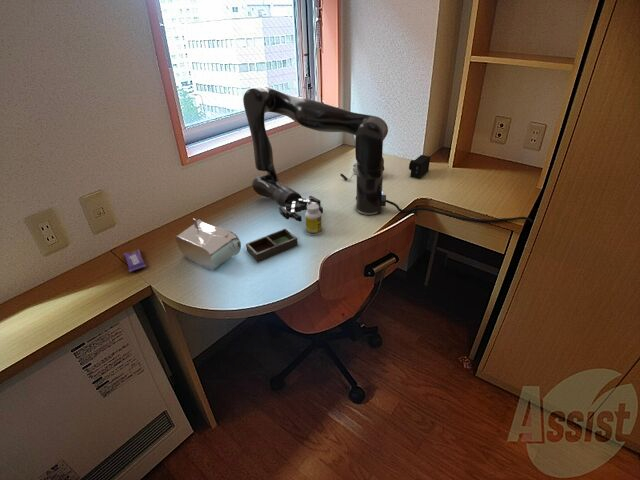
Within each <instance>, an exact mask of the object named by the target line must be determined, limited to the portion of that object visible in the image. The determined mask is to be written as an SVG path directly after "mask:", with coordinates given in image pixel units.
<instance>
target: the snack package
mask: <svg viewBox="0 0 640 480" xmlns="http://www.w3.org/2000/svg"><path fill="white" fill-rule="evenodd" d="M123 256H124V258H125V260H126V263H127V266H128V273H131V272H134V271H137V270H140V269H143V268H145V267H147V264H146V263H145V261H144V258H143V256H142V254H141V248H136V249H133V250H131V251H127V252H124V253H123Z"/></svg>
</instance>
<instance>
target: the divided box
mask: <svg viewBox="0 0 640 480" xmlns="http://www.w3.org/2000/svg"><path fill="white" fill-rule="evenodd" d="M298 246H299V244H298V238H297V237H296V236H295V235H294V234H292V232H290V231H289V230H288V229H286V228H283V229H280V230H278V231H275V232H272V233H270V234H267V235H264V236H262V237H260V238H257V239H254V240H252V241H249V242H246V243H245V249H246V252H247V253H248V254H249V255H250V256H251V257H252V258H253V259H254V260H255V261H256V263H260V262H264V261H265V260H268V259H270V258H273V257H275V256H278V255H279V254H282V253H284V252H287V251H289V250H291V249H292V250H293V249H294V248H297V247H298Z"/></svg>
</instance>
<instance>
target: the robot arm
mask: <svg viewBox="0 0 640 480" xmlns="http://www.w3.org/2000/svg"><path fill="white" fill-rule="evenodd" d="M242 96H243V97H242V103H243V108H244V111H245V117H246V120H247V123H248V127H249V132H250V136H251V141H252V146H253V147H252V148H253V157H254V166H255V169H256V170H257V171H259V172H266V174H263V175H262V174H261V175H259V176H256V177H254V178H253V179H252V184H251V185H252V189H253V191H254V192H255V193H256V194H257V195H259V196H261V197H265V198H269V199H271V200H272V201H274V202H275V203H276V204H277V205H278V206H279V207H278V212H279V214H280V216H282V217H283V218H284V219H285V220H287V221H288V220H290V219H292V220H295V222H299V223H301V222H302V221H303V219H302V217H303V216H302V215H301V214H299V213H301V212H303V211H307V206H308V205H309V204H317V205H319V211H320V212H321V215H322V214H324V208H323V206H322V204H321V201H322V200H320V199H318V198H317V197H315V196H313V195H309V196H308V198H303V196H301V194H300V193H299V192H297V191H295V190H294V189H292V188H291V187H289V186H287V185H285V184H283V183H282V182H281V181H280V179H279V177H278V174H277V171H276V167H275V164H274V151H273V146H272V143H271V140H270V138H269V135H268V133H267V130H266V125H265V115H266V113H274V114H279V115H281V116H282V115H283V116H286V117H288V118H289V119H291V120H292V121H293V122H295V123H297V124H298V125H299V126H301V127H304V128H307V129H310V130H313V131H317V132H322V133H345V134H350V135H353V136H355V138H354V149H355V152H354V153H355V161H356V163H357V173H356V174H357V175H356V193H355V195H356V196H355V211H356V212H357V213H358V214H360V215H364V216H375V215H377V214H378V215H379V214H381V213H382V207H386V206H387V205H386V203H387V204H389V205H392V206H394V207H395V208H396V209H397V210H398V212H401V213H409V212H414V211H427V212H432V213H435V214H439V215H443V216H447V217H451V218H454V219H459V220H465V221H470V222H479V223H495V222H496V223H497V222H509V221H518V220H525V221H528V222H529V223H531V224H532V223H534V221H533V219H531V218H530V217H527V216H516V217H505V218H504V217H502V218H494V219H491V218H489V219H487V218H473V217H466V216H461V215H456V214H453V213H448V212H444V211H440V210H436V209H433V208H429V207H423V206H420V207H413V208H410V209H402V208H400V206H399V205H398V204H397V203H396V202H393V201H392V200H388V199H387V194H383V183H384V182H383V181H384V171H383V167H384V168H385V158H384V157H383V149H384V140H385V139H386V137H387V136H388V133H389V127H388V124H387V122H386V121H385V120H384V119H383V118H381V117H380V116H376V115H371V114H365V113H364V114H363V113H358V112H353V111H349V110H346V109H343V108H340V107H337V106H334V105H330V104H327V103H324V102H321V101H318V100H314V99H309V98H306V97H300V96H297V95H292V94H288V93H285V92H283V91H280V90H277V89H275V88H273V87H271V86H267V85H264V84H262V85H261V84H260V85H256V86H252V87H250V88H248V89H246V90H245V91H244V93H243V95H242Z"/></svg>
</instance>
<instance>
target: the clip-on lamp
mask: <svg viewBox="0 0 640 480" xmlns="http://www.w3.org/2000/svg"><path fill="white" fill-rule="evenodd" d="M384 171H385V166H384V167H383V172H384ZM352 172H353V173H352V175H351V177H350V179H348V177H347V176H346V175H345V174H344V173H340V172H339V174H340V177H341V178H342V179H343V180H345V181H348V182H349V181H351V180H352V178H353V177H354V176H357V162H355V163H354V164H353V166H352Z"/></svg>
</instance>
